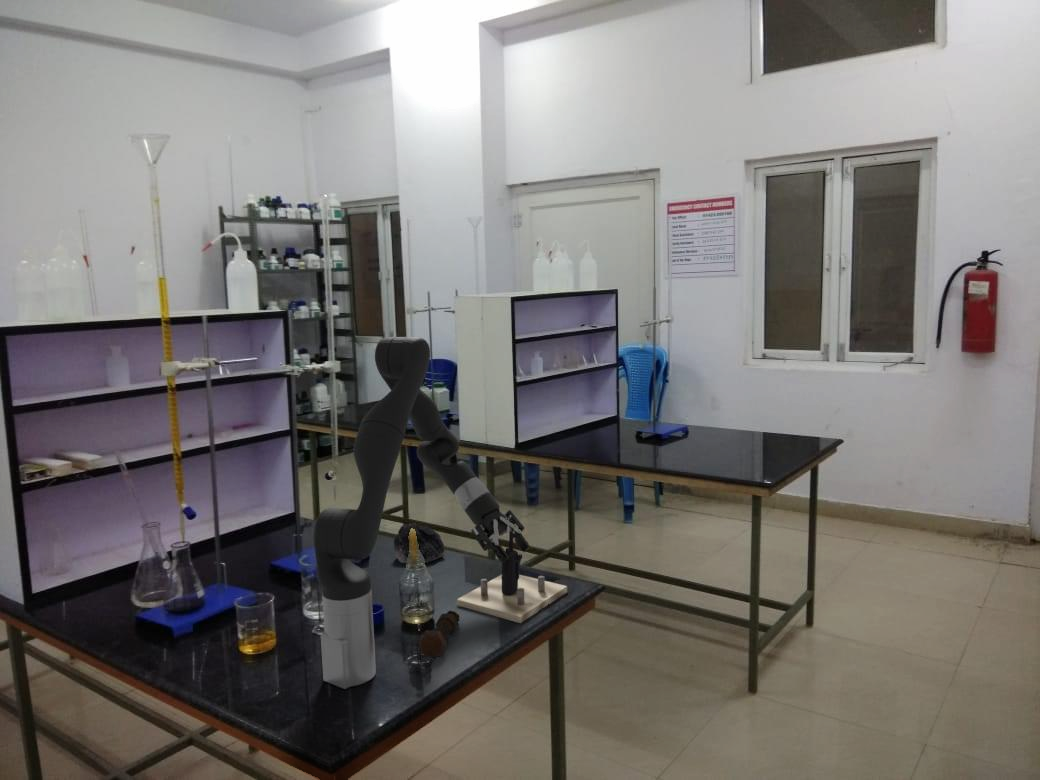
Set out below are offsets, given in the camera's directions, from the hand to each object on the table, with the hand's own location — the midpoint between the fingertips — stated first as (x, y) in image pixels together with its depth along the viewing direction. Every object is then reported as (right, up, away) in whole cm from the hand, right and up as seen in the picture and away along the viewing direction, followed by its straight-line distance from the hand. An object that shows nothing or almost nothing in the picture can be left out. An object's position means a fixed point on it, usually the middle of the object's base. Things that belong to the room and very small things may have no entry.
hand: (516, 554), depth 182 cm
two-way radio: (-1, -10, +2) cm, 10 cm away
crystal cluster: (-27, -8, +32) cm, 42 cm away
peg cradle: (-1, -11, +2) cm, 11 cm away
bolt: (-15, -15, -18) cm, 28 cm away
